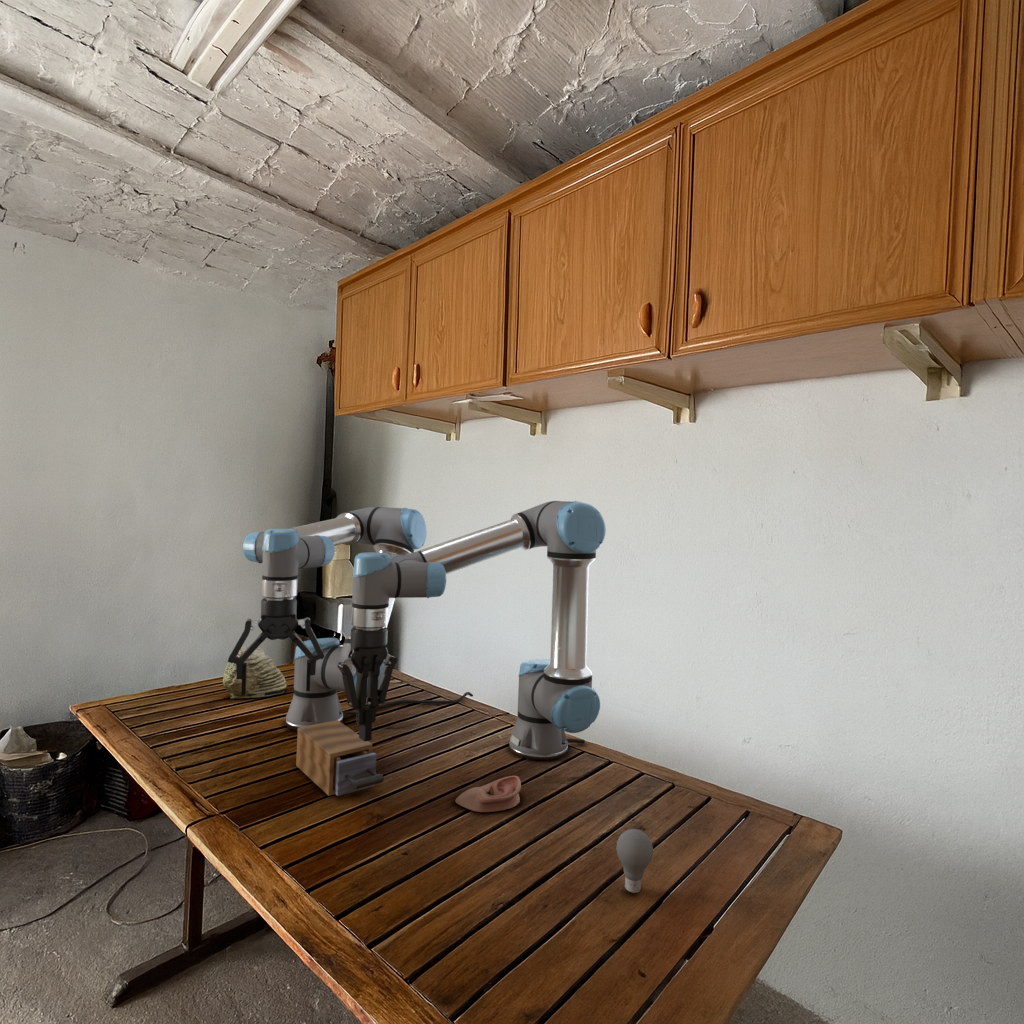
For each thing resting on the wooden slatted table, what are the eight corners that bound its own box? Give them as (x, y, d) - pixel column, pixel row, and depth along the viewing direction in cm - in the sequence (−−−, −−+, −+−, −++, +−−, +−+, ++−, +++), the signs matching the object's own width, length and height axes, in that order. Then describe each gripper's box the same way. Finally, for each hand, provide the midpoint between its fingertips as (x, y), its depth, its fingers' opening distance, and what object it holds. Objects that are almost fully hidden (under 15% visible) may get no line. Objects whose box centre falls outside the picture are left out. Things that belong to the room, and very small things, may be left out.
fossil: (218, 695, 195) (220, 647, 195) (278, 685, 208) (279, 640, 207) (228, 703, 189) (230, 653, 188) (289, 692, 201) (290, 645, 201)
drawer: (388, 796, 133) (389, 763, 133) (349, 807, 128) (351, 773, 128) (341, 759, 151) (342, 729, 151) (305, 767, 145) (307, 737, 145)
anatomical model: (451, 789, 131) (466, 766, 142) (450, 808, 131) (465, 784, 142) (514, 798, 128) (524, 774, 139) (513, 817, 128) (523, 792, 139)
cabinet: (371, 784, 141) (372, 744, 140) (328, 796, 134) (330, 754, 134) (335, 756, 155) (337, 719, 154) (296, 765, 148) (297, 727, 148)
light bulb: (610, 879, 108) (613, 822, 108) (644, 879, 109) (647, 822, 109) (619, 902, 102) (622, 840, 102) (655, 901, 103) (658, 840, 103)
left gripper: (216, 601, 135) (213, 700, 135) (337, 599, 143) (334, 692, 144) (220, 595, 142) (217, 689, 142) (335, 594, 150) (332, 683, 151)
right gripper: (348, 633, 125) (343, 751, 126) (406, 627, 134) (401, 738, 134) (332, 626, 131) (328, 739, 131) (388, 620, 139) (384, 727, 140)
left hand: (276, 691), depth 143 cm, fingers open, 13 cm apart
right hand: (365, 738), depth 133 cm, fingers closed
